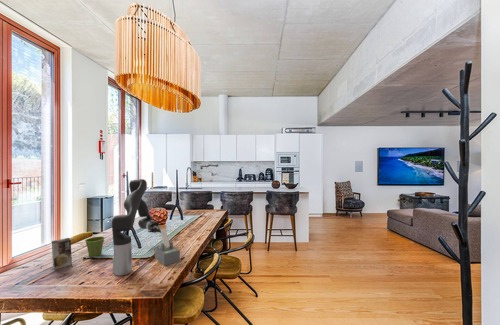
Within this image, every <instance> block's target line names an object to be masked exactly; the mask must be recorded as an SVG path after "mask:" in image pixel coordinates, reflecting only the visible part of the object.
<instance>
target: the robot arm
mask: <svg viewBox="0 0 500 325" xmlns="http://www.w3.org/2000/svg"><path fill="white" fill-rule="evenodd" d="M128 185H129V186H128V187H129V191H130V192H129V194H127V196H126V198H125V200H124V202H123V208H124V209H125V211H126V213H127V214H119V215H114V216H113V217H112V220H111V231H112V240H113V241H112V242H113V256H112V274H114V275H115V276H118V277H119V276H120V277H121V276H126V275H129V274H131V273H132V272H133V257H132V256H133V254H132V237H131V236H130V235H127V234H124V233H123V232H129V231H131V230H132V229H133V228H134V224H135V220H136V217H137V213H138V216H139V217H140V218H141V219H139V220H138V227H139V228H141V229H143V230H144V229H146V230H147V232H148V233H154V234H156V233H160V234H161V231H160V229H159V226H160V225H161V224H160V223H159V222H157V221H156V220H153V217H152V216H151V215H150V212H149V208H148V204H147V203H146V202H145V201H144V199H143V196H144V195H145V192H146V190H147V188H148V182H147V181H146V179H144V178H139V179H132V180H130V181H129V184H128Z"/></svg>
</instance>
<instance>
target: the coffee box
mask: <svg viewBox="0 0 500 325" xmlns="http://www.w3.org/2000/svg"><path fill="white" fill-rule="evenodd" d="M71 241H72V240H71V238H69V237H66V238H60V239H56V240H52V241H51V255H52V268H53V270H57V269H62V268H66V267H68V266H72V265H73V261H72V258H73V257H72V256H73V255H72V242H71Z"/></svg>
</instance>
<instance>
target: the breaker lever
mask: <svg viewBox="0 0 500 325" xmlns="http://www.w3.org/2000/svg"><path fill="white" fill-rule="evenodd" d="M159 229H160V231H161V233H160V235H161V237H162V242H163V244H164V248H169V247H170V241H169V237H168V232H167V225H166V224H160V226H159Z"/></svg>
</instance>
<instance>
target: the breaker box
mask: <svg viewBox="0 0 500 325" xmlns="http://www.w3.org/2000/svg"><path fill="white" fill-rule="evenodd" d="M169 244H170V247H169V248H164V243H160V246H157V247H154V254H155V255H154V258H155V260H157V261H158V262H159V264H162V265H163V266H164V267H166V266H169V265H173V264H176V263H179V262H181V254H180V252H181V251H180V250H179V249H178V248H176V247H175V246H174V245H173V244H174V243H173V241H169Z"/></svg>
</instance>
